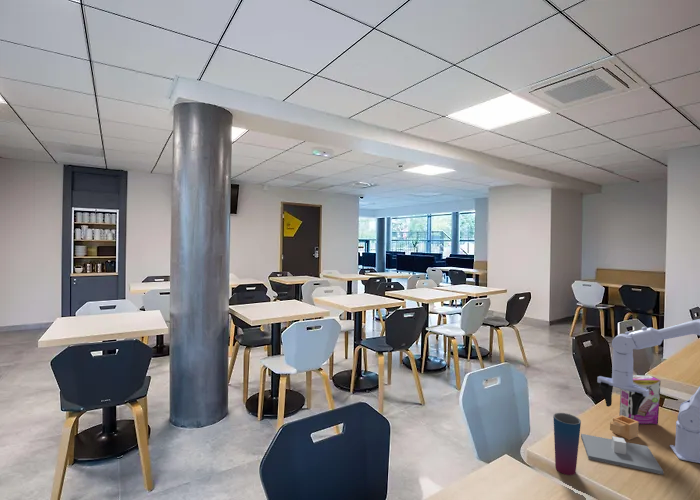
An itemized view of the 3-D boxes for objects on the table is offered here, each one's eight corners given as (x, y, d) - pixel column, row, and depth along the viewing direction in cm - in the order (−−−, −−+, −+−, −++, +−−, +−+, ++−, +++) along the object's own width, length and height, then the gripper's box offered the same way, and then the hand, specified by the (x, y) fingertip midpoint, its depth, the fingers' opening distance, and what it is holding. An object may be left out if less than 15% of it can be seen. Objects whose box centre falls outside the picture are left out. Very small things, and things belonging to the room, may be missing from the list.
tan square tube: (621, 429, 131) (621, 415, 131) (638, 436, 126) (638, 421, 126) (606, 434, 127) (606, 420, 127) (623, 442, 122) (623, 427, 122)
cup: (552, 472, 106) (553, 420, 106) (551, 460, 112) (553, 410, 112) (580, 480, 103) (581, 426, 102) (578, 466, 109) (580, 416, 108)
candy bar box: (629, 425, 134) (630, 379, 133) (618, 418, 139) (620, 374, 138) (659, 425, 134) (661, 379, 134) (648, 418, 139) (649, 374, 139)
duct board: (647, 449, 118) (647, 435, 118) (663, 474, 106) (663, 459, 106) (581, 436, 126) (581, 423, 126) (588, 458, 113) (588, 444, 113)
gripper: (653, 374, 122) (652, 415, 123) (604, 362, 135) (603, 399, 135) (644, 378, 119) (643, 421, 119) (594, 365, 131) (593, 404, 131)
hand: (621, 410), depth 127 cm, fingers open, 7 cm apart
